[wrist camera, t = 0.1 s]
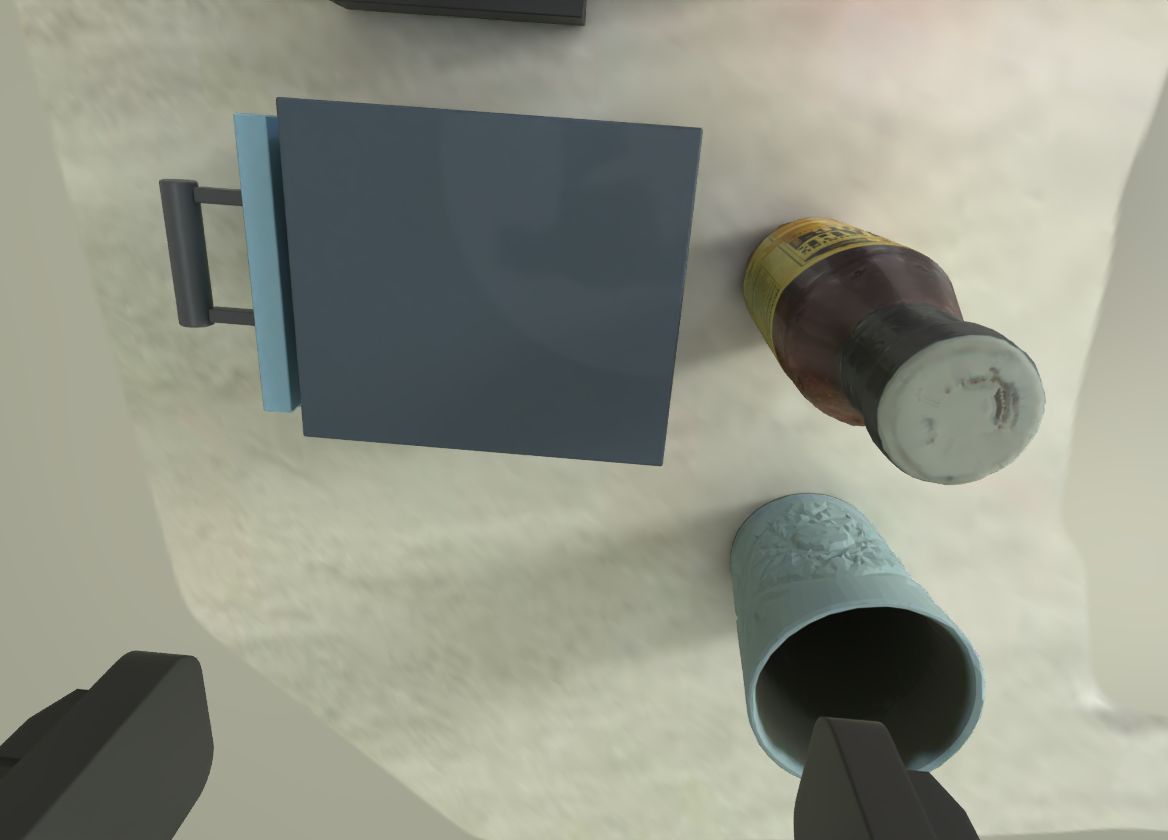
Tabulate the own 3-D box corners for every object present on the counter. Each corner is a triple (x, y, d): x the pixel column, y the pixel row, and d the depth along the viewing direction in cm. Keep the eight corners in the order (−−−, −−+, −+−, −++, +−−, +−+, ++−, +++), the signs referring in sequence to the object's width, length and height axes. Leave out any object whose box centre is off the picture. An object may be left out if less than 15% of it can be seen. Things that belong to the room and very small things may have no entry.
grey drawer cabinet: (384, 362, 38) (302, 437, 29) (375, 110, 34) (274, 96, 24) (652, 384, 38) (662, 467, 28) (679, 133, 34) (703, 127, 24)
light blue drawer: (254, 346, 38) (151, 402, 29) (229, 113, 33) (102, 103, 25) (595, 373, 37) (587, 438, 29) (613, 141, 33) (610, 140, 25)
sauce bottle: (885, 236, 35) (1181, 339, 16) (831, 352, 37) (1039, 559, 19) (760, 195, 34) (919, 252, 16) (714, 315, 37) (806, 489, 18)
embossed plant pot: (808, 652, 44) (872, 824, 33) (678, 569, 42) (698, 722, 31) (926, 537, 41) (1041, 685, 30) (790, 443, 39) (857, 562, 28)
